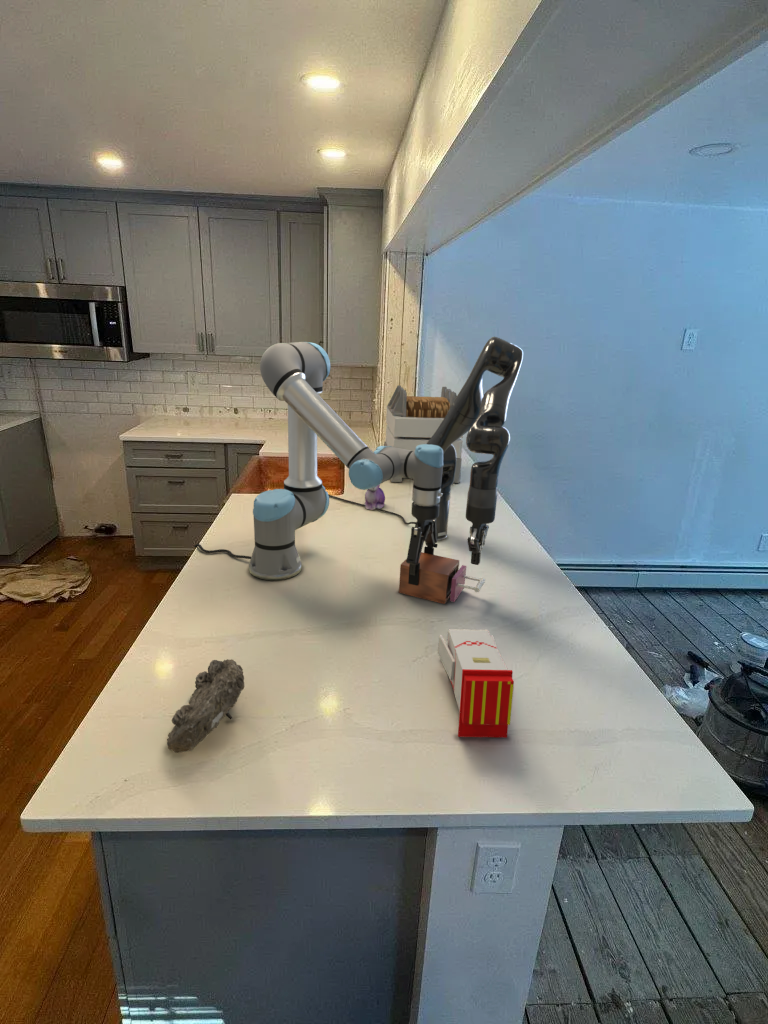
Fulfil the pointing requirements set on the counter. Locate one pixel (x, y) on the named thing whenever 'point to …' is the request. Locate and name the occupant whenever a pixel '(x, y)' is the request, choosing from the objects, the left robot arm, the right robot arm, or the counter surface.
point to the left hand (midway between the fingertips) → (420, 575)
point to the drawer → (461, 583)
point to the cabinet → (429, 578)
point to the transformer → (418, 422)
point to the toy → (478, 682)
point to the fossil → (206, 705)
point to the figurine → (374, 498)
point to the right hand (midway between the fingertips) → (475, 563)
